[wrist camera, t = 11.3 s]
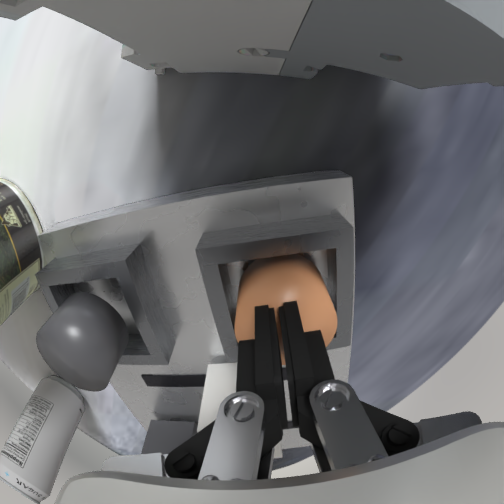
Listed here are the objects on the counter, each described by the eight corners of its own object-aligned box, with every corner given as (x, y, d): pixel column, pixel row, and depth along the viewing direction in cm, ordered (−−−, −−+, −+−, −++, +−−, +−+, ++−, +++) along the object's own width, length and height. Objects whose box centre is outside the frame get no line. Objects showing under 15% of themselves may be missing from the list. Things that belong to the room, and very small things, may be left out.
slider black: (194, 421, 20) (185, 473, 15) (207, 442, 21) (201, 488, 17) (150, 419, 20) (137, 467, 15) (167, 440, 22) (158, 483, 17)
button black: (110, 288, 12) (81, 326, 9) (140, 353, 14) (123, 394, 11) (53, 294, 13) (23, 326, 10) (83, 352, 14) (63, 386, 11)
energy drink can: (63, 404, 25) (22, 494, 12) (36, 370, 23) (-18, 465, 9) (96, 409, 25) (57, 514, 11) (68, 373, 22) (11, 487, 9)
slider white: (272, 358, 16) (276, 427, 12) (278, 396, 18) (282, 457, 13) (208, 364, 17) (196, 430, 12) (222, 400, 18) (216, 460, 14)
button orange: (321, 246, 13) (337, 278, 10) (324, 318, 15) (336, 357, 12) (230, 258, 13) (224, 293, 10) (246, 328, 15) (244, 369, 12)
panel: (337, 169, 15) (367, 185, 10) (334, 421, 24) (341, 457, 20) (58, 222, 16) (17, 249, 12) (166, 431, 26) (158, 464, 21)
